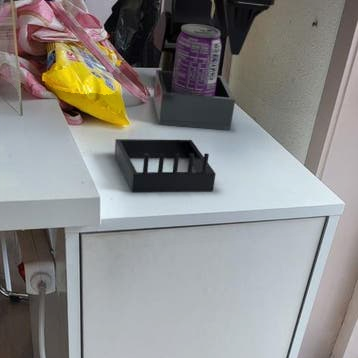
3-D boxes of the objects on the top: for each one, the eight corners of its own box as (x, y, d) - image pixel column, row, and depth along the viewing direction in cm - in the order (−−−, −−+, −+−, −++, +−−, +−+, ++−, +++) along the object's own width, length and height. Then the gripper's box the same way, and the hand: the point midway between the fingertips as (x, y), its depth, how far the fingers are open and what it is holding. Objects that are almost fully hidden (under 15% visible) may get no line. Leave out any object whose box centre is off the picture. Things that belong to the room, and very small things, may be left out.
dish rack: (114, 156, 92) (116, 120, 89) (189, 156, 95) (193, 122, 92) (132, 192, 84) (134, 154, 81) (213, 191, 87) (218, 155, 84)
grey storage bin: (153, 99, 112) (155, 69, 109) (218, 105, 114) (223, 76, 110) (159, 124, 103) (162, 93, 100) (230, 130, 105) (235, 99, 102)
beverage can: (208, 103, 111) (219, 25, 103) (215, 118, 106) (227, 38, 98) (167, 99, 110) (175, 21, 102) (172, 115, 105) (181, 33, 97)
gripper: (328, -67, 79) (298, 70, 89) (292, -88, 92) (269, 33, 103) (239, -79, 77) (218, 62, 87) (215, -98, 90) (200, 26, 101)
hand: (229, 45), depth 94 cm, fingers open, 9 cm apart
